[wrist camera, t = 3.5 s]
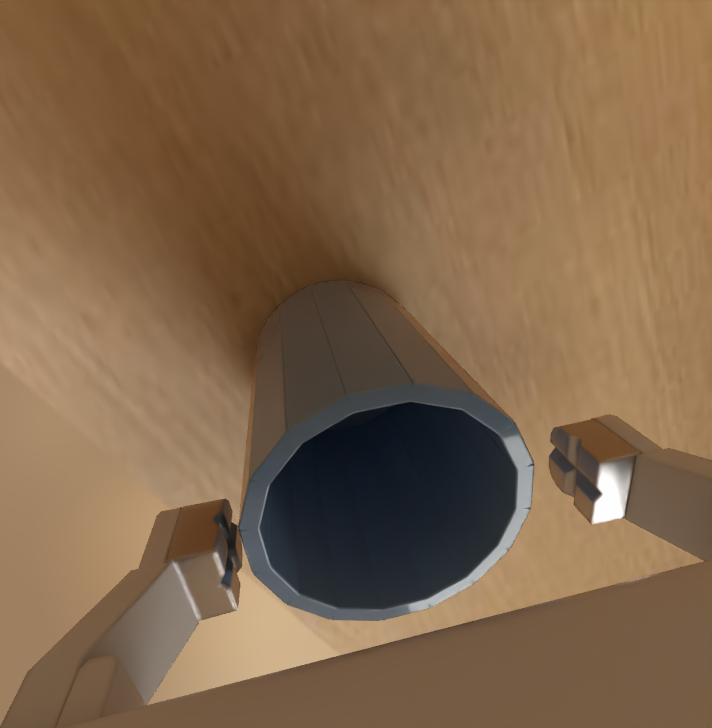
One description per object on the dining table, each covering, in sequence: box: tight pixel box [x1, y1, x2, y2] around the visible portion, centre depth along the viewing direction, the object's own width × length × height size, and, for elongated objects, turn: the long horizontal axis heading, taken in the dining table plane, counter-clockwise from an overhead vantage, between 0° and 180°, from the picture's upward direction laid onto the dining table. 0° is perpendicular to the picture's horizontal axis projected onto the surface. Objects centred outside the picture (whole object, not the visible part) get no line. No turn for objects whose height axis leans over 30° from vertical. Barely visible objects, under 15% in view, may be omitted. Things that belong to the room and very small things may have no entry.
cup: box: [238, 280, 534, 621], centre depth 14 cm, size 7×7×9 cm
